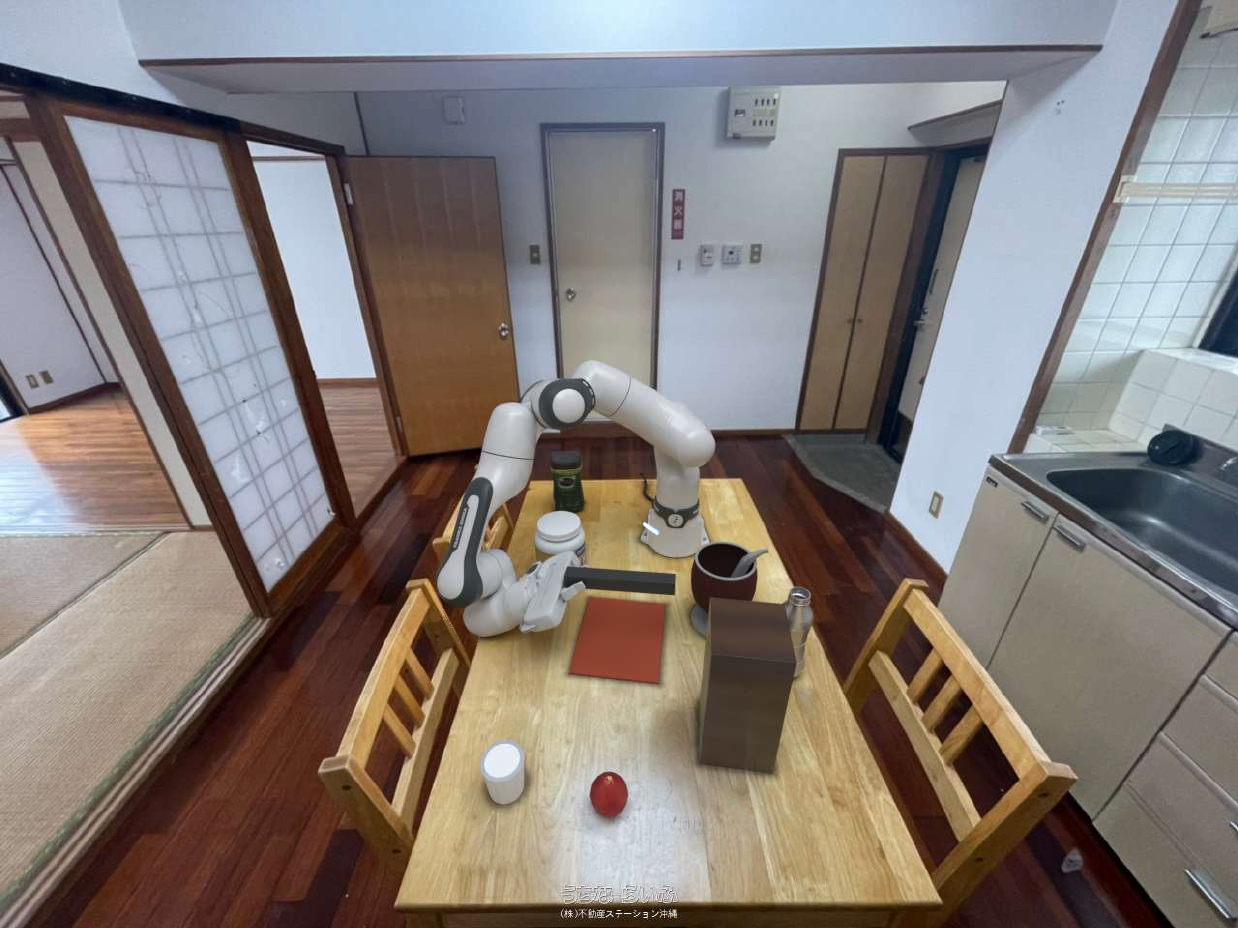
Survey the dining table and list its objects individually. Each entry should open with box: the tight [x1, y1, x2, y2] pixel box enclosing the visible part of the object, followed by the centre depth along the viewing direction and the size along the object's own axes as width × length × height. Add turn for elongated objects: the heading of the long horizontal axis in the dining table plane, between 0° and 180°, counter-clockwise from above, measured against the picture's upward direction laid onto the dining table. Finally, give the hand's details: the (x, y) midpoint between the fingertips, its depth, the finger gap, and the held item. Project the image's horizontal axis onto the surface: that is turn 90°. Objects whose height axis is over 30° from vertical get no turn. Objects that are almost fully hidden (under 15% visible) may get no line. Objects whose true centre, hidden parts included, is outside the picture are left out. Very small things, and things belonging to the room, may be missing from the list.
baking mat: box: [568, 596, 666, 685], centre depth 112 cm, size 22×18×1 cm
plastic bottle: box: [781, 586, 815, 678], centre depth 99 cm, size 6×7×20 cm
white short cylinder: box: [479, 739, 525, 805], centre depth 82 cm, size 7×7×7 cm
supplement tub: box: [533, 510, 587, 567], centre depth 125 cm, size 12×12×17 cm
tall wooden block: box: [699, 597, 797, 774], centre depth 85 cm, size 12×12×26 cm
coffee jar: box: [549, 450, 586, 513], centre depth 154 cm, size 10×8×19 cm
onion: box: [589, 771, 629, 818], centre depth 79 cm, size 6×6×8 cm
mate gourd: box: [690, 540, 769, 638], centre depth 111 cm, size 16×14×20 cm
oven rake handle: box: [564, 566, 677, 596], centre depth 103 cm, size 3×22×3 cm, turn 82°
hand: (586, 576), depth 103 cm, fingers closed on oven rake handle, 3 cm apart
